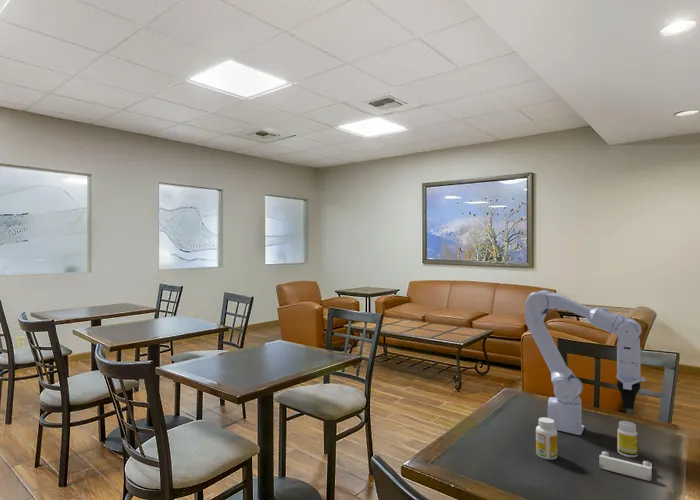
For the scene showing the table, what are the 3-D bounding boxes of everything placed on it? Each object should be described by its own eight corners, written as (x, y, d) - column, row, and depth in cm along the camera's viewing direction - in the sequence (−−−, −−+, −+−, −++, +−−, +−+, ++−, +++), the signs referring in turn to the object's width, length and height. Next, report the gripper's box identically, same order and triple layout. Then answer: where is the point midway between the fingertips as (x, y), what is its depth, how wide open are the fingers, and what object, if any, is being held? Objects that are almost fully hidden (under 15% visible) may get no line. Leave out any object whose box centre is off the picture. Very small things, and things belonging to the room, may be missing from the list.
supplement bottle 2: (641, 458, 115) (640, 427, 115) (621, 456, 116) (621, 426, 116) (632, 450, 120) (632, 420, 120) (614, 448, 121) (614, 419, 121)
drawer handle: (599, 468, 110) (599, 456, 110) (602, 455, 117) (602, 444, 117) (651, 481, 104) (651, 469, 104) (651, 467, 110) (651, 456, 110)
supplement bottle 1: (556, 452, 119) (556, 417, 119) (558, 461, 114) (558, 425, 114) (535, 449, 120) (535, 415, 120) (536, 458, 115) (536, 422, 115)
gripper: (644, 369, 116) (644, 418, 116) (645, 357, 128) (645, 403, 128) (614, 364, 120) (614, 413, 120) (617, 354, 132) (618, 398, 132)
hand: (628, 407), depth 124 cm, fingers closed
